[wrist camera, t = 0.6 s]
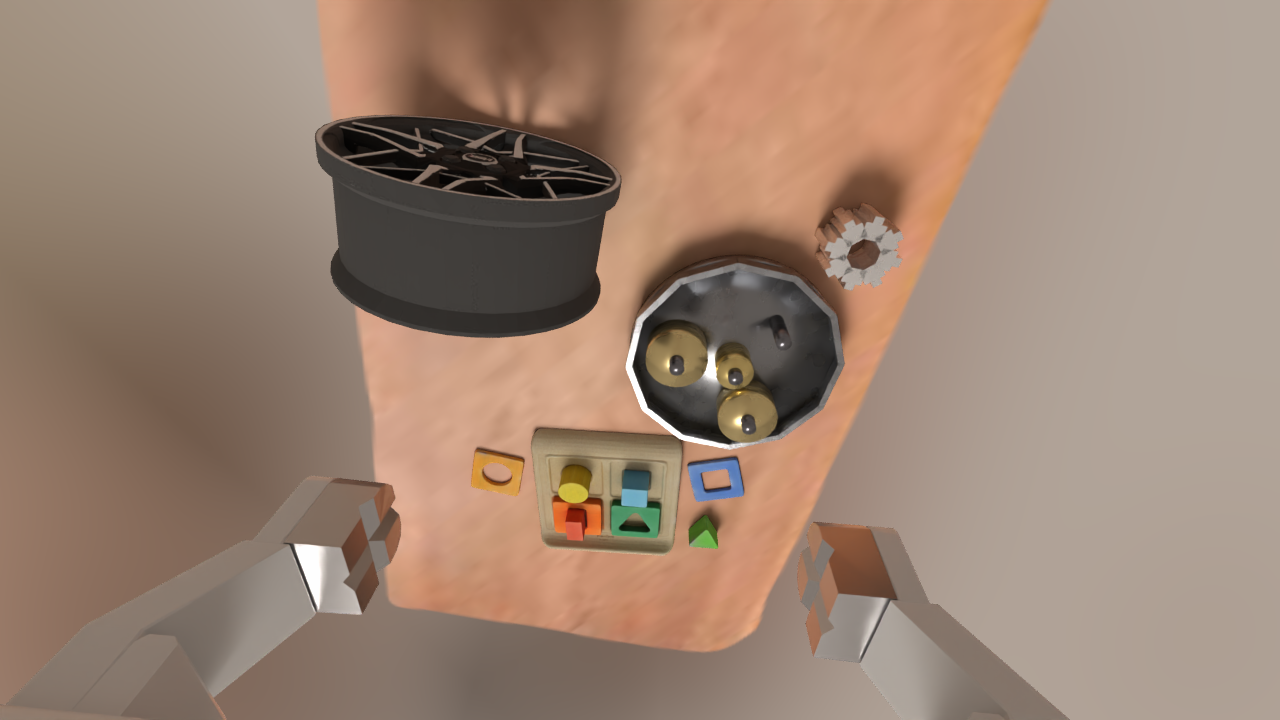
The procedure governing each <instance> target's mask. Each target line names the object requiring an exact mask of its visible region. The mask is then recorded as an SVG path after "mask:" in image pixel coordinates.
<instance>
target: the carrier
mask: <svg viewBox="0 0 1280 720" xmlns="http://www.w3.org/2000/svg"><path fill="white" fill-rule="evenodd" d="M844 364H845V363H844V357H843V350H842V344H841V337H840V331H839V325H838V318H837V314H836V313H835V311H834V309H833V308H832V307H831V306H830V305H829V304H828V303H827V302H826V301H825V299H824V298H823V296H822V294H821V293H820V292H819V291H818V290H817V288H816V287H815V286H814V285H813V284H812V283H811V282H810V281H809V280H808V279H806V278H805V277H804V276H803V275H801V274H800V273H798V272H797V271H795V270H794V269H792V268H790V267H788V266H786V265H784V264H781V263H779V262H776V261H773V260H770V259H766V258H762V257H756V256H747V255H730V256H720V257H715V258H711V259H706V260H703V261H700V262H697V263H694V264H692V265H690V266H688V267H686V268H684V269H681V270H679V271H678V272H676V273H675V274H673V275H672V276H670V277H669V278H667V279H666V280H665V281H664V282H663V283H661V284H660V285H659V286H658V287H657V288H656V289H655V290H654V291H653V292H652V294H651V295H650V296H649V297H648V298H647V300H646V301H645V303H644V304H643V306H642V307H641V309H640V310H639V311H638V314H637V317H636V320H635V323H634V326H633V329H632V334H631V341H630V347H629V352H628V356H627V361H626V369H627V372H628V374H629V377H630V380H631V382H632V385H633V387H634V390H635V392H636V395H637V398H638V400H639V403H640V405H641V408H642V410H643V411H644V412H645V413H647V414H648V415H649V416H651V417H652V418H653V419H655V420H656V421H657V422H658V423H660V424H661V425H662V426H664V427H665V428H666V429H668V430H669V431H670V432H671V433H673V434H674V435H675V436H677V437H678V438H679V439H681V440H686V441H691V442H696V443H700V444H705V445H710V446H715V447H720V448H725V449H735V448H740V447H745V446H750V445H755V444H760V443H764V442H769V441H774V440H779V439H780V438H781V439H782V438H783V437H785V436H786V435H787V434H789V433H790V432H792V431H793V430H794V429H796V428H797V427H799V426H800V425H801V424H803V423H804V422H806V421H807V420H808V419H810V418H811V417H813V416H814V415H815V414H817V413H818V412H820V411H821V410H822V409H823V408H824V406H825V404H826V402H827V400H828V398H829V396H830V394H831V392H832V389H833V387H834V385H835V383H836V381H837V379H838V377H839V375H840V373H841V371H842V369H843V367H844Z"/></svg>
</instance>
